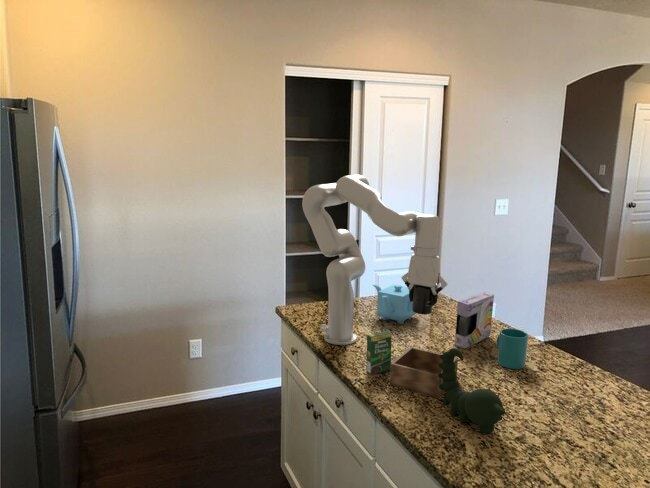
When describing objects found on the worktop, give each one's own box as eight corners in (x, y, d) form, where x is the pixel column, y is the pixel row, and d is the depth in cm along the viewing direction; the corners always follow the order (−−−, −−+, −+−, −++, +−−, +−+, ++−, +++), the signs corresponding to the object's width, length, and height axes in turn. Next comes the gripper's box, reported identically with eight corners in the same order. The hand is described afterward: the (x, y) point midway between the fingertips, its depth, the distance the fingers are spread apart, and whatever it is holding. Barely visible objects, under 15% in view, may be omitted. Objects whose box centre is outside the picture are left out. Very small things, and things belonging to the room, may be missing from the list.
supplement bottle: (432, 315, 169) (434, 281, 167) (411, 314, 170) (413, 279, 168) (432, 309, 176) (434, 275, 173) (412, 307, 177) (414, 274, 174)
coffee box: (369, 375, 164) (371, 337, 161) (365, 371, 166) (366, 334, 164) (391, 371, 167) (392, 333, 165) (386, 367, 170) (387, 330, 167)
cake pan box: (463, 350, 185) (466, 303, 182) (451, 346, 189) (454, 300, 185) (491, 337, 198) (495, 293, 194) (480, 333, 201) (483, 291, 198)
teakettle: (410, 311, 229) (411, 279, 226) (425, 325, 210) (426, 291, 208) (369, 312, 225) (370, 280, 223) (381, 327, 207) (382, 292, 204)
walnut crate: (389, 384, 157) (390, 363, 156) (410, 366, 171) (410, 346, 169) (439, 398, 149) (440, 376, 148) (456, 378, 162) (457, 357, 161)
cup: (506, 353, 182) (508, 324, 180) (531, 367, 171) (534, 335, 169) (486, 357, 179) (488, 327, 176) (510, 371, 168) (513, 339, 166)
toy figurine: (430, 409, 146) (489, 449, 124) (430, 345, 144) (490, 374, 122) (457, 403, 150) (519, 440, 127) (457, 341, 148) (520, 367, 125)
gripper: (397, 250, 170) (394, 300, 174) (447, 257, 161) (443, 310, 165) (406, 246, 176) (403, 295, 180) (455, 253, 167) (451, 304, 171)
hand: (422, 302), depth 172 cm, fingers closed on supplement bottle, 6 cm apart
